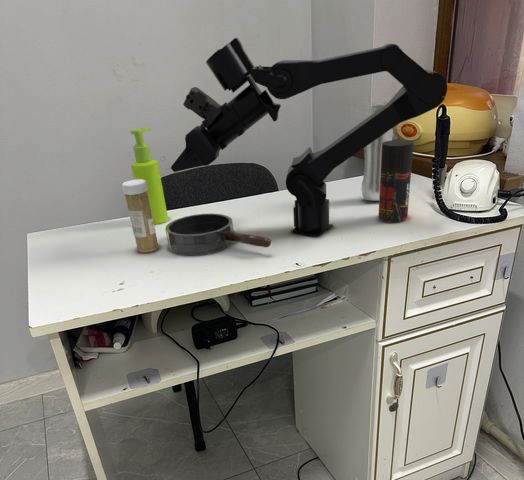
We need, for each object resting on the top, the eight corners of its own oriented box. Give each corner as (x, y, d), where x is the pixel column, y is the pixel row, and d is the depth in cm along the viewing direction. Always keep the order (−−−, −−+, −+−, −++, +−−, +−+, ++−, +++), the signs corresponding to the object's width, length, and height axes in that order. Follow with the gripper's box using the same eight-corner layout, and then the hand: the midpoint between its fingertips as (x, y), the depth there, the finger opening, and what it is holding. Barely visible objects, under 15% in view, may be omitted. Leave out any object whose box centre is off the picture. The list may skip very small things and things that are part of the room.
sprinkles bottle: (163, 248, 99) (150, 180, 91) (144, 255, 96) (129, 185, 89) (151, 243, 102) (137, 177, 94) (132, 250, 99) (116, 182, 92)
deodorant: (379, 213, 106) (383, 140, 98) (407, 214, 105) (413, 139, 97) (377, 222, 101) (381, 146, 93) (406, 223, 100) (413, 145, 92)
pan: (232, 228, 106) (230, 210, 103) (236, 250, 94) (234, 230, 92) (170, 235, 105) (167, 217, 103) (167, 259, 94) (163, 239, 91)
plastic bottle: (392, 202, 112) (398, 106, 101) (363, 204, 112) (366, 109, 102) (386, 195, 118) (392, 103, 107) (358, 197, 118) (361, 105, 107)
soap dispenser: (174, 215, 117) (158, 125, 106) (160, 225, 112) (142, 131, 101) (153, 214, 119) (135, 126, 108) (138, 224, 114) (118, 131, 103)
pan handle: (274, 245, 90) (273, 236, 89) (267, 249, 89) (266, 240, 88) (226, 237, 96) (225, 228, 95) (219, 240, 95) (218, 232, 94)
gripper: (222, 70, 95) (164, 120, 101) (202, 77, 79) (135, 136, 85) (255, 121, 99) (198, 166, 105) (243, 137, 84) (176, 190, 90)
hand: (178, 164), depth 96 cm, fingers open, 9 cm apart
